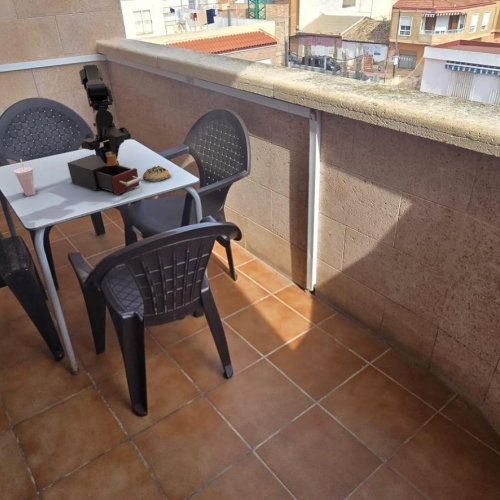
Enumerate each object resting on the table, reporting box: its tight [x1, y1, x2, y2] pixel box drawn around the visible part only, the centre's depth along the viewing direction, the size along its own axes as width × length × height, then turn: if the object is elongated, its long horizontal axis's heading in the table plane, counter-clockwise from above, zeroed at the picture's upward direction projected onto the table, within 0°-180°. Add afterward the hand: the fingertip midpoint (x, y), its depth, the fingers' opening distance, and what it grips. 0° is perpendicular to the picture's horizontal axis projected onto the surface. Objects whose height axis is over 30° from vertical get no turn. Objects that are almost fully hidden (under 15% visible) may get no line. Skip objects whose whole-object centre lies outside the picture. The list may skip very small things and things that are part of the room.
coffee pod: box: [105, 152, 118, 166], centre depth 164 cm, size 5×5×4 cm
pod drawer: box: [94, 164, 143, 195], centre depth 166 cm, size 19×11×7 cm, turn 55°
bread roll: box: [142, 165, 170, 182], centre depth 178 cm, size 11×11×5 cm
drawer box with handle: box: [67, 153, 120, 192], centre depth 173 cm, size 16×13×9 cm
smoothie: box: [13, 158, 36, 197], centre depth 162 cm, size 6×6×14 cm
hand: (110, 161), depth 164 cm, fingers closed on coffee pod, 4 cm apart
